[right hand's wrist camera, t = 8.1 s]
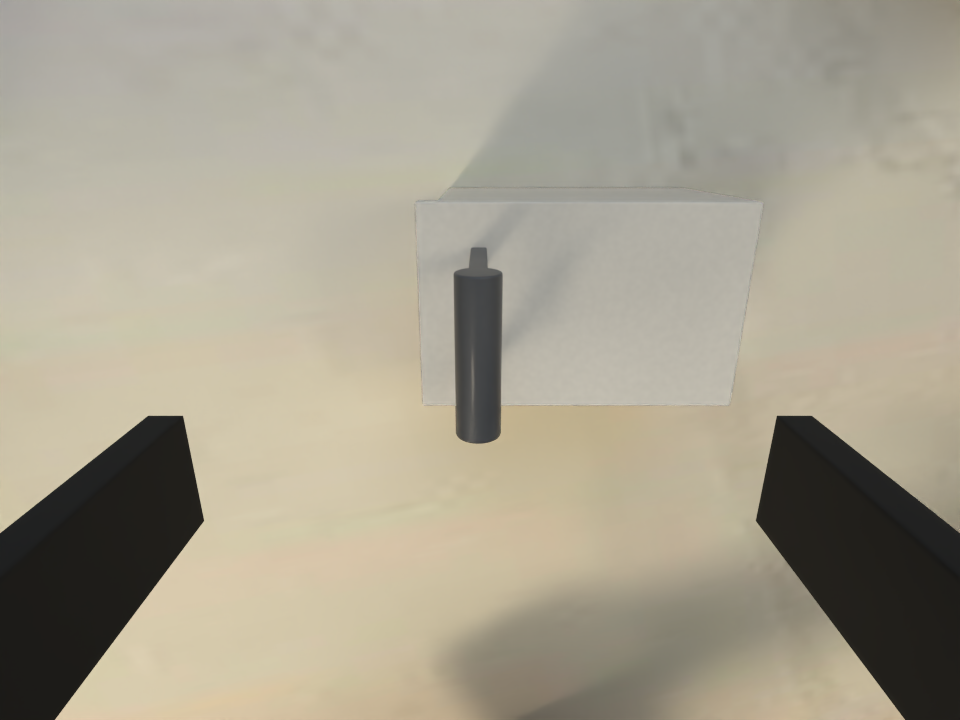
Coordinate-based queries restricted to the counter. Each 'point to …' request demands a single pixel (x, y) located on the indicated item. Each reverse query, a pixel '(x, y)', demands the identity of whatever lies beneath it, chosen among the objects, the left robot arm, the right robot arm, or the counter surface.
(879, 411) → the counter surface
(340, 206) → the counter surface
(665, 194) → the white cabinet body
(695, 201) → the lid
